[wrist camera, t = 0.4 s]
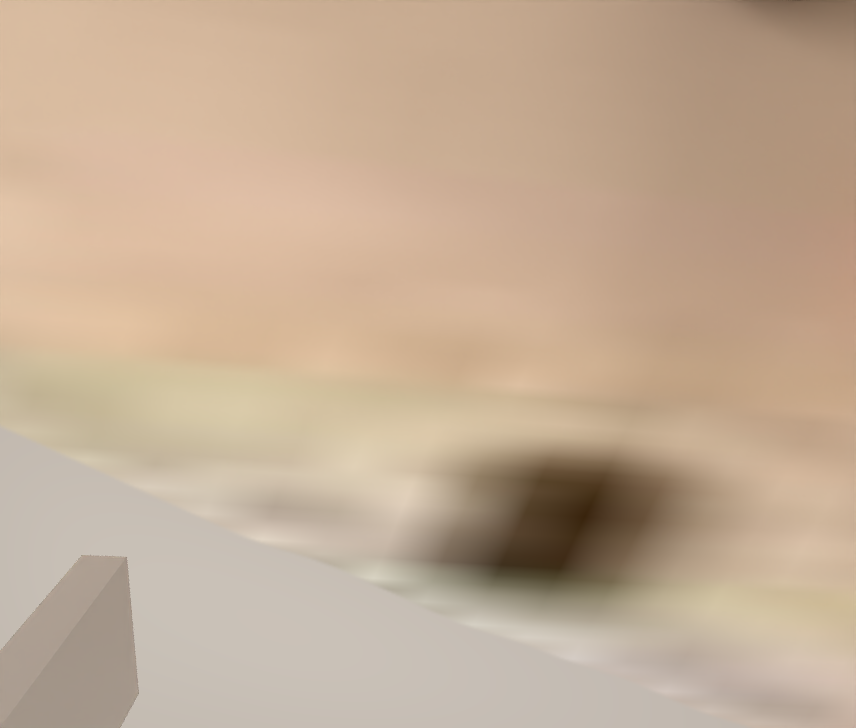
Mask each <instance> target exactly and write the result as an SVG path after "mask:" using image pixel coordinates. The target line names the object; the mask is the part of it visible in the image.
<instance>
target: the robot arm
mask: <svg viewBox="0 0 856 728" xmlns="http://www.w3.org/2000/svg"><path fill="white" fill-rule="evenodd" d="M138 694H139V690H138V679H137V669H136V656H135V645H134V634H133V622H132V610H131V598H130V588H129V575H128V564H127V557H115V556H88V555H82V556H81V557H80V558H79V559H78V561H77V562H76V563H75V564H74V565H73V566H72V568H71V569H70V570H69V571H68V572H67V573H66V575H65V576H64V577H63V578H62V579H61V580H60V582H59V583H58V584H57V585H56V586H55V587H54V589H53V590H52V591H51V592H50V593H49V595H48V596H47V597H46V598H45V599H44V600H43V601H42V603H41V604H40V605H39V606H38V607H37V608H36V610H35V611H34V612H33V613H32V614H31V615H30V617H29V618H28V619H27V620H26V621H25V622H24V624H23V625H22V626H21V627H20V628H19V629H18V631H17V632H16V633H15V634H14V635H13V636H12V638H11V639H10V640H9V641H8V642H7V644H6V645H5V646H4V647H3V648H2V649H1V651H0V728H120V727H121V725H122V723H123V722H124V720H125V718H126V716H127V714H128V712H129V710H130V708H131V707H132V705H133V703H134V701H135V699H136V697H137V696H138Z"/></svg>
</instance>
